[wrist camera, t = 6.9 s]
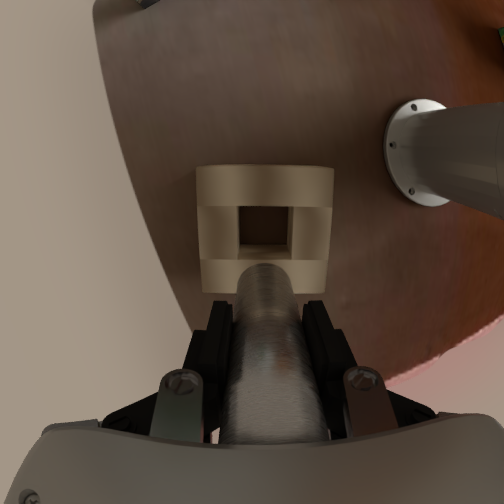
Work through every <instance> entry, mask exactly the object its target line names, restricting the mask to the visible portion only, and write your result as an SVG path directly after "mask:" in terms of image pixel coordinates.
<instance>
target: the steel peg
mask: <svg viewBox="0 0 504 504" xmlns="http://www.w3.org/2000/svg"><path fill="white" fill-rule="evenodd" d="M321 441H330V438H329V434H328V429H327V425H326V420H325V416H324V412H323V407H322V403H321V399H320V394H319V390H318V386H317V382H316V378H315V374H314V370H313V365H312V361H311V357H310V353H309V349H308V345H307V341H306V337H305V334H304V330H303V326H302V322H301V318H300V314H299V310H298V306H297V303H296V299H295V295H294V291H293V288H292V284H291V281H290V278H289V276H288V274H287V273H286V272H285V271H284V270H283V269H282V268H280V267H279V266H277V265H274V264H270V263H259V264H255V265H253V266H250V267H249V268H247V269H246V270H245V271H244V272H243V273H242V274H241V276H240V278H239V280H238V283H237V290H236V298H235V306H234V314H233V327H232V335H231V344H230V352H229V361H228V370H227V378H226V387H225V391H224V397H223V405H222V414H221V423H220V432H219V441H218V444H229V445H282V444H299V443H312V442H321Z"/></svg>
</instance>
